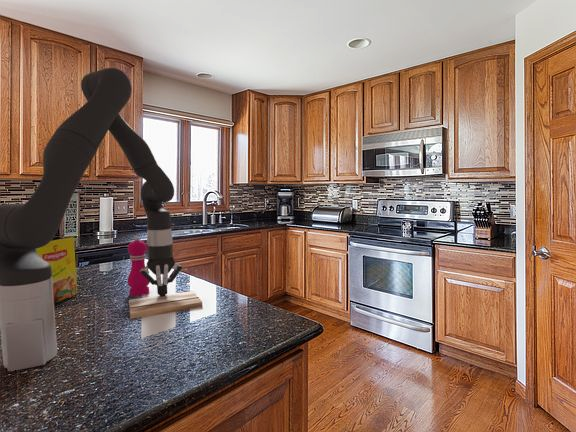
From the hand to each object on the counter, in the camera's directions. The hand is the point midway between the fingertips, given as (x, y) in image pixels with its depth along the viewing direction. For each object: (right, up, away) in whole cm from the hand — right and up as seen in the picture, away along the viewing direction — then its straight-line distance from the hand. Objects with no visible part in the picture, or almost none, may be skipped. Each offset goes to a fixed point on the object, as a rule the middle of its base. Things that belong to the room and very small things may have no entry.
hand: (162, 295), depth 110 cm
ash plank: (+1, -2, -3) cm, 3 cm away
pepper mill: (-11, -1, +8) cm, 14 cm away
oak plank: (+4, -2, -8) cm, 10 cm away
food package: (-34, -2, +1) cm, 34 cm away
